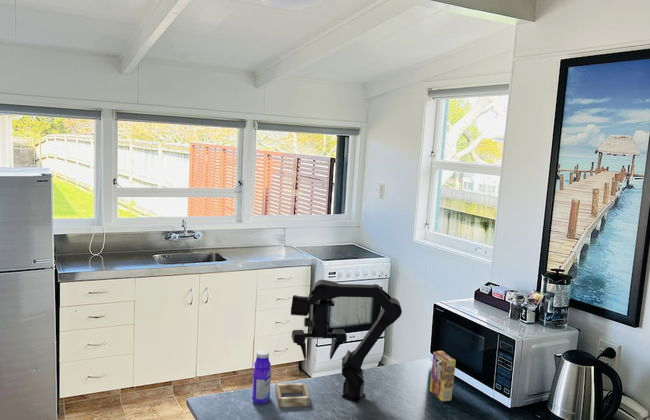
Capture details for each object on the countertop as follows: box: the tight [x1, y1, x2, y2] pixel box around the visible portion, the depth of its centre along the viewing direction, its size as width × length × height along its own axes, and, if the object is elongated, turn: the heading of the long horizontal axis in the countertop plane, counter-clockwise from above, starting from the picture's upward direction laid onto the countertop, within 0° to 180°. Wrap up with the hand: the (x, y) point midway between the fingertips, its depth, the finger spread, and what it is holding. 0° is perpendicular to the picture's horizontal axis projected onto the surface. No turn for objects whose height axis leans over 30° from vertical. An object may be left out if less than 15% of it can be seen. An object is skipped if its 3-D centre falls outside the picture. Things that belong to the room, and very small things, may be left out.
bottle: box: [251, 349, 272, 405], centre depth 189 cm, size 7×6×17 cm
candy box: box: [429, 350, 457, 402], centre depth 200 cm, size 9×4×15 cm, turn 20°
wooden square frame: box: [274, 382, 311, 408], centre depth 192 cm, size 11×11×3 cm
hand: (317, 359), depth 195 cm, fingers open, 9 cm apart
